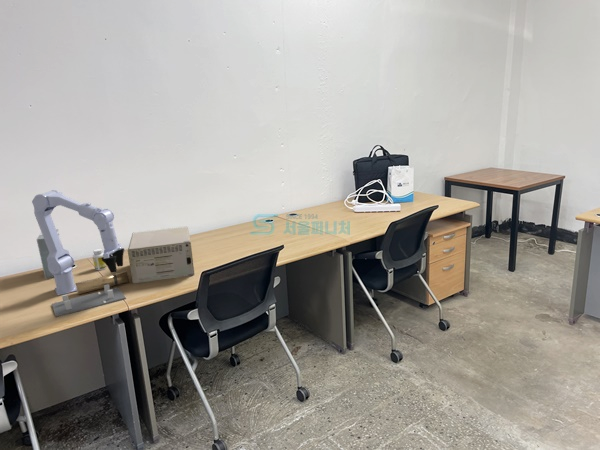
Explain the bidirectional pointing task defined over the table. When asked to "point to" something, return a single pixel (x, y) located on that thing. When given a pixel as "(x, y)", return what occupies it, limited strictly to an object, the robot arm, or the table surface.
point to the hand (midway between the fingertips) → (117, 269)
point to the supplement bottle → (98, 260)
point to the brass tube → (102, 282)
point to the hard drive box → (44, 254)
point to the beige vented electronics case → (160, 254)
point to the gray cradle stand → (87, 301)
